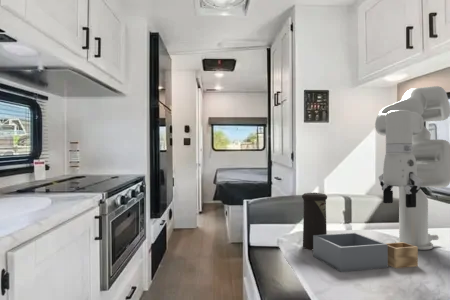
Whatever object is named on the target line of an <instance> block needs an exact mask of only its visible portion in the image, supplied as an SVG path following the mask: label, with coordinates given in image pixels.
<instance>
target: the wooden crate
mask: <svg viewBox="0 0 450 300" xmlns="http://www.w3.org/2000/svg"><path fill="white" fill-rule="evenodd" d="M384 243H385V244H388V267H392V268H394V269H404V268H413V267H418V266H419V250H418V247H417V246H414V245H411V244H407V243H404V242H397V243H395V242H387V243H386V242H384Z"/></svg>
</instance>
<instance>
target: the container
mask: <svg viewBox="0 0 450 300" xmlns="http://www.w3.org/2000/svg"><path fill="white" fill-rule="evenodd" d="M301 197H302V199H303V221H302V222H303V223H302V226H303V227H302V230H303V231H302V247H303V248H304V249H306V250H311V251H313V235H326V234H327V231H328V230H327V200H328V195H326V194H325V193H322V192H321V193H320V192H305V193H303V194H302V195H301Z"/></svg>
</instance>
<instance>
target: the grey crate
mask: <svg viewBox="0 0 450 300" xmlns="http://www.w3.org/2000/svg"><path fill="white" fill-rule="evenodd" d="M385 243H386V242H382V241H379V240H376V239H375V238H371V237H369V236H365V235H362V234H360V233H357V232H346V233H345V232H344V233H329V234H326V235H313V250H312V252H313V253H312V254H313V255H312V256H313V257H314V258H316V259H317V260H319V261H321V262H323V263H324V264H326V265H328V266H329V267H332V268H333V269H334V270H336V271H338V272H340V273H346V272H355V271H356V272H357V271H366V270H377V269H387V268H389V265H388V244H385Z"/></svg>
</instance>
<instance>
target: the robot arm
mask: <svg viewBox="0 0 450 300" xmlns="http://www.w3.org/2000/svg"><path fill="white" fill-rule="evenodd" d="M449 117H450V102H449V97H448V93H447V91H446V89H445V88H443V87H442V86H438V85H437V86H426V87H425V86H424V87H415V88H410V89H409V90H407V91H406V92H405V93H404V94H403V95H402V97H401V100H399V101H397V102H394V103H392V104H390V105H387V106H385V107H382V109H381V110H380V111H379V112H378V114H377V116H376V118H375V123H374V125H375V126H374V127H375V130H376V133H377V134H379V135H380V136H385V155H384V161H383V172H382V174H380V175H379V176H378V180H379V184H380V186H381V190H382V192H383V193H382V194H383V195H382V197H383V198H382V200H383V201H382V202H383V204H393V202H394V191H393V188H394V187H396V188H397V187H398V207H399V210H398V215H399V216H398V217H399V218H398V227H399V228H398V229H399V230H398V234H399V236H398V237H399V238H397V239H395V240H394V243H397V242H404V243H407V244H411V245H414V246H417V247H418V251H427V250H432V249H433V248H434V244H433V243H432V241H437V240H439V236H438V234H430V233H429V200H428V197H427V195H426V194H425V192H424V191H423V190H422V189H421V188H437V189H438V188H439V189H440V188H443V189H444V188H446V187H448V186H449V185H450V142H449V141H448V140H446V139H440V138H439V139H437V138H436V139H431V132H430V130H429V129H427V127H425V125H424V124H425V122H439V121H440V122H441V121H446V120H447V119H448V118H449Z"/></svg>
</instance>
